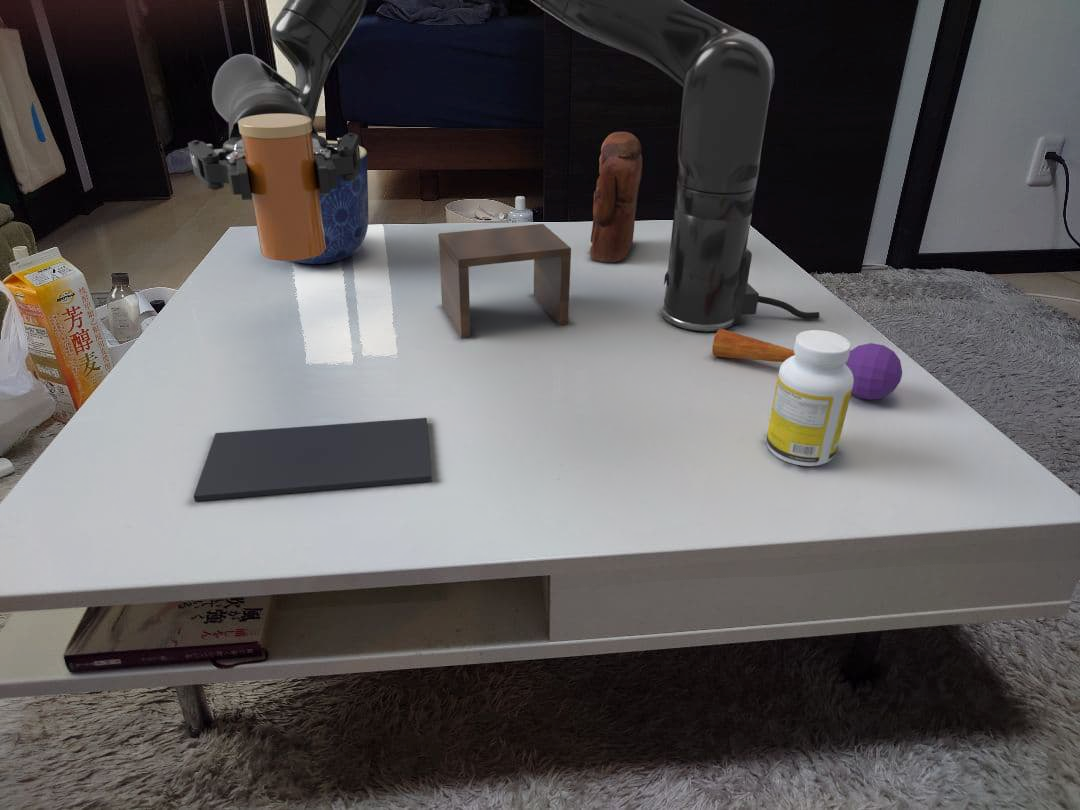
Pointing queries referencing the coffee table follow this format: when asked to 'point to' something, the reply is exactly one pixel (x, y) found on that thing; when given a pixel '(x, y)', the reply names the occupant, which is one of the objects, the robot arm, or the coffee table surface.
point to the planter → (344, 216)
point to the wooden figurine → (616, 197)
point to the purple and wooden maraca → (867, 362)
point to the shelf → (504, 248)
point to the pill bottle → (811, 399)
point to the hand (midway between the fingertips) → (285, 183)
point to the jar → (283, 185)
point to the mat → (315, 459)
